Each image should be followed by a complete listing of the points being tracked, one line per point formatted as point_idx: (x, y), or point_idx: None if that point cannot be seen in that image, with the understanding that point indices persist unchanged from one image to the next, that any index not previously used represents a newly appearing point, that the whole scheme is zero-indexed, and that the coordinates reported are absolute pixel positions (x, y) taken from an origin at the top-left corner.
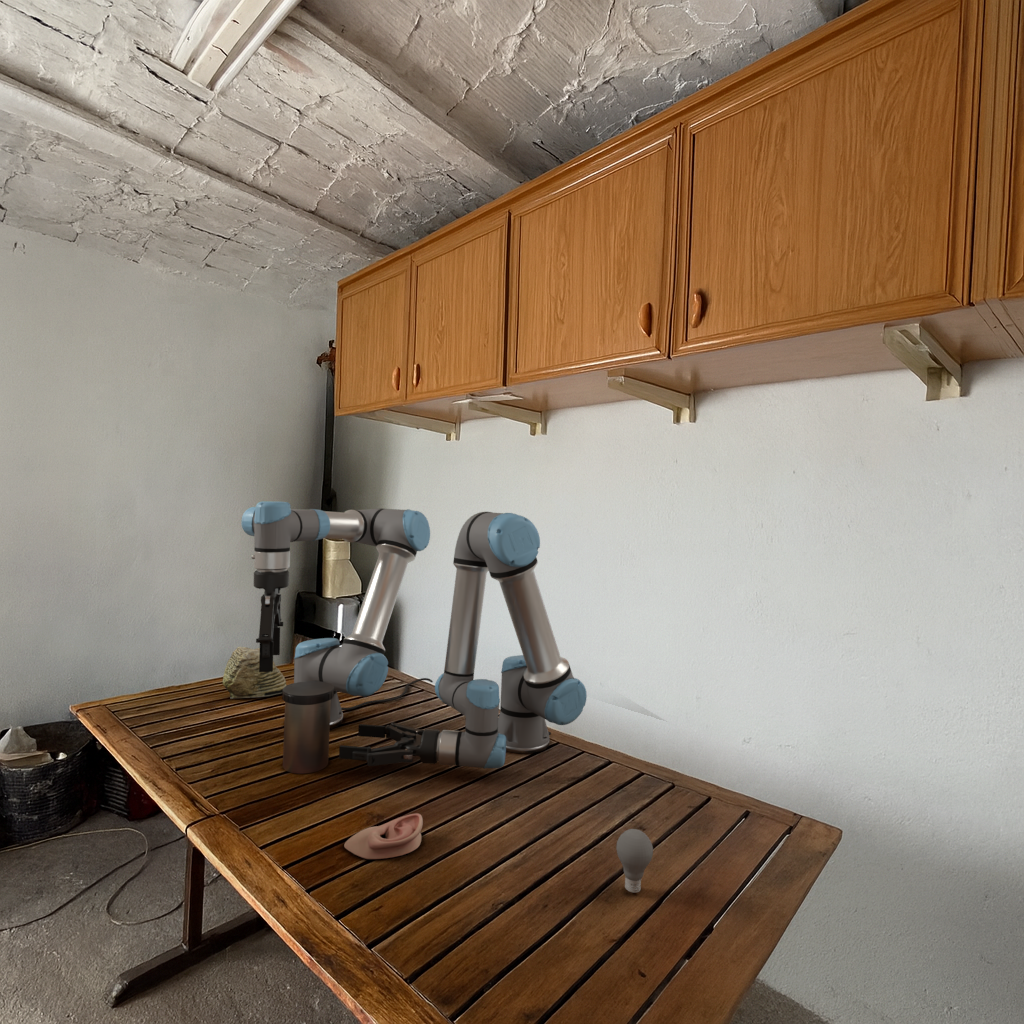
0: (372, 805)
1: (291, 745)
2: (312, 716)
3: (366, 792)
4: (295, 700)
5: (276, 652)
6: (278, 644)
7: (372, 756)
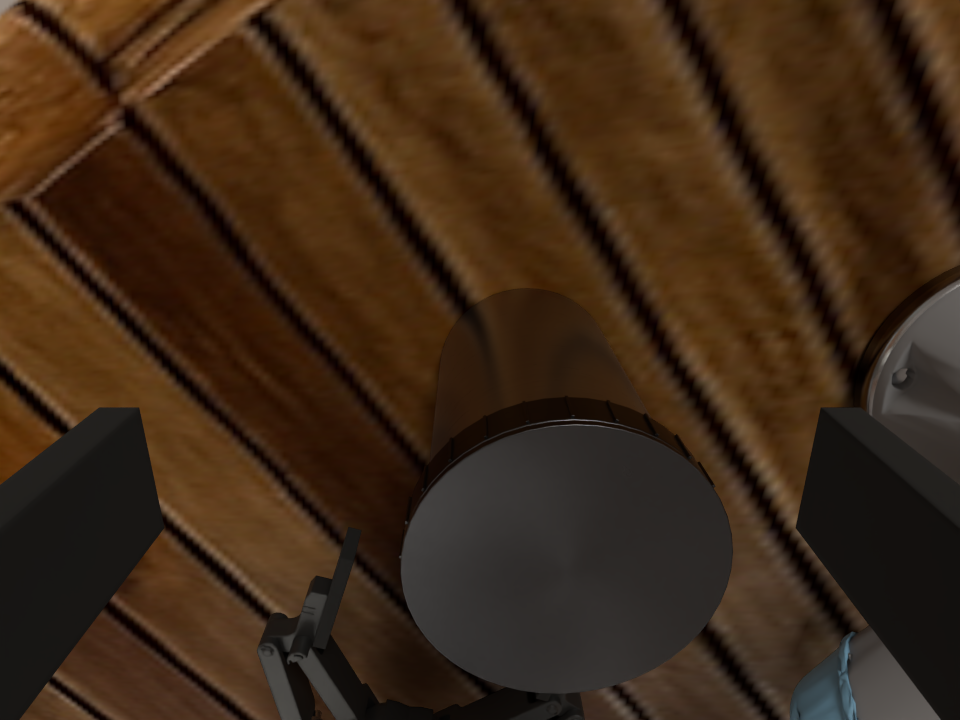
0: (190, 568)
1: (454, 362)
2: None
3: (277, 554)
4: (417, 493)
5: (815, 519)
6: (865, 608)
7: (259, 652)
